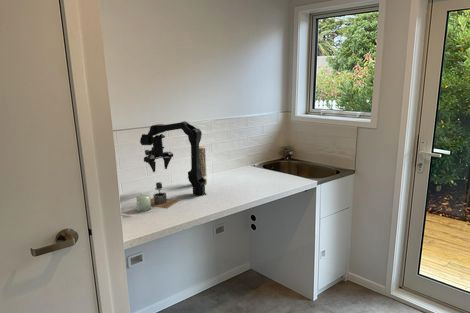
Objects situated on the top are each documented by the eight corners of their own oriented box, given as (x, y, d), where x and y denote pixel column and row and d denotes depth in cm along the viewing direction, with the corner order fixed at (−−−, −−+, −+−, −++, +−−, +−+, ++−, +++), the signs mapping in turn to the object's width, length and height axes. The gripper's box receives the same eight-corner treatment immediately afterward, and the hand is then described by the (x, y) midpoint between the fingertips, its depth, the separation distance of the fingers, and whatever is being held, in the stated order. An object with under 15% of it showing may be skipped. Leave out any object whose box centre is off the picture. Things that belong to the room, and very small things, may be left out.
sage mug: (153, 209, 192) (152, 195, 191) (143, 215, 184) (142, 200, 183) (143, 208, 195) (141, 193, 193) (132, 213, 187) (131, 198, 186)
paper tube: (196, 183, 240) (194, 146, 235) (206, 182, 241) (205, 145, 235) (196, 185, 233) (194, 148, 228) (206, 185, 234) (205, 147, 229)
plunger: (165, 194, 201) (164, 182, 199) (160, 196, 197) (159, 184, 195) (158, 193, 202) (157, 181, 201) (154, 195, 198) (153, 183, 197)
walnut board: (180, 201, 203) (180, 200, 203) (167, 209, 191) (167, 208, 191) (154, 198, 210) (154, 197, 210) (139, 206, 198) (139, 204, 198)
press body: (170, 200, 204) (169, 192, 203) (162, 205, 196) (161, 197, 195) (160, 199, 206) (159, 191, 205) (151, 203, 199) (151, 195, 198)
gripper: (160, 142, 228) (162, 166, 231) (136, 147, 213) (139, 172, 216) (172, 143, 221) (174, 167, 224) (148, 148, 207) (151, 174, 210)
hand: (160, 170), depth 219 cm, fingers open, 9 cm apart
